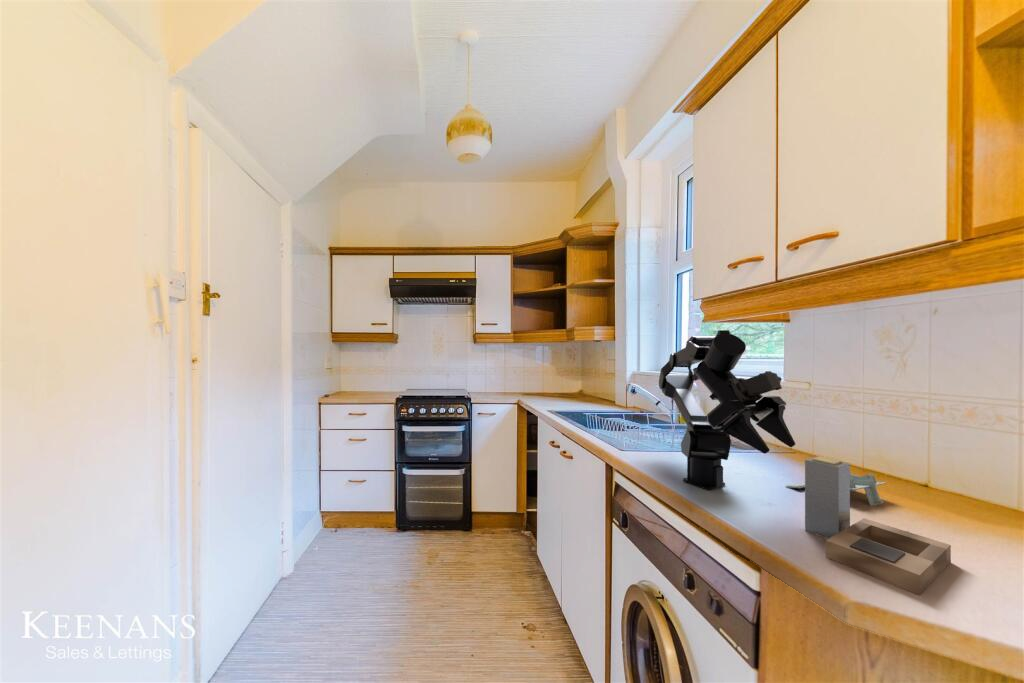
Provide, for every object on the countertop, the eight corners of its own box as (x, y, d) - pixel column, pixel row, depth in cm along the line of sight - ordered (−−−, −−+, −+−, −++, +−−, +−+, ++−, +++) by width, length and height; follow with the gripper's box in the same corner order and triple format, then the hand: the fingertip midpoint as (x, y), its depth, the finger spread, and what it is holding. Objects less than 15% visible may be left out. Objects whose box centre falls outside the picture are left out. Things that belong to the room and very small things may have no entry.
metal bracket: (893, 472, 76) (850, 480, 71) (904, 502, 75) (861, 513, 69) (818, 470, 89) (777, 477, 84) (826, 496, 87) (785, 505, 82)
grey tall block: (805, 530, 62) (805, 458, 62) (816, 524, 64) (816, 454, 65) (838, 542, 58) (838, 465, 58) (850, 535, 61) (849, 461, 61)
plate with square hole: (825, 557, 54) (825, 538, 54) (863, 533, 61) (863, 517, 61) (919, 595, 46) (919, 573, 46) (950, 562, 53) (950, 543, 53)
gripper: (722, 357, 68) (790, 429, 58) (775, 357, 77) (842, 419, 67) (684, 394, 74) (739, 464, 65) (737, 390, 83) (792, 451, 74)
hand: (780, 449), depth 67 cm, fingers open, 9 cm apart
